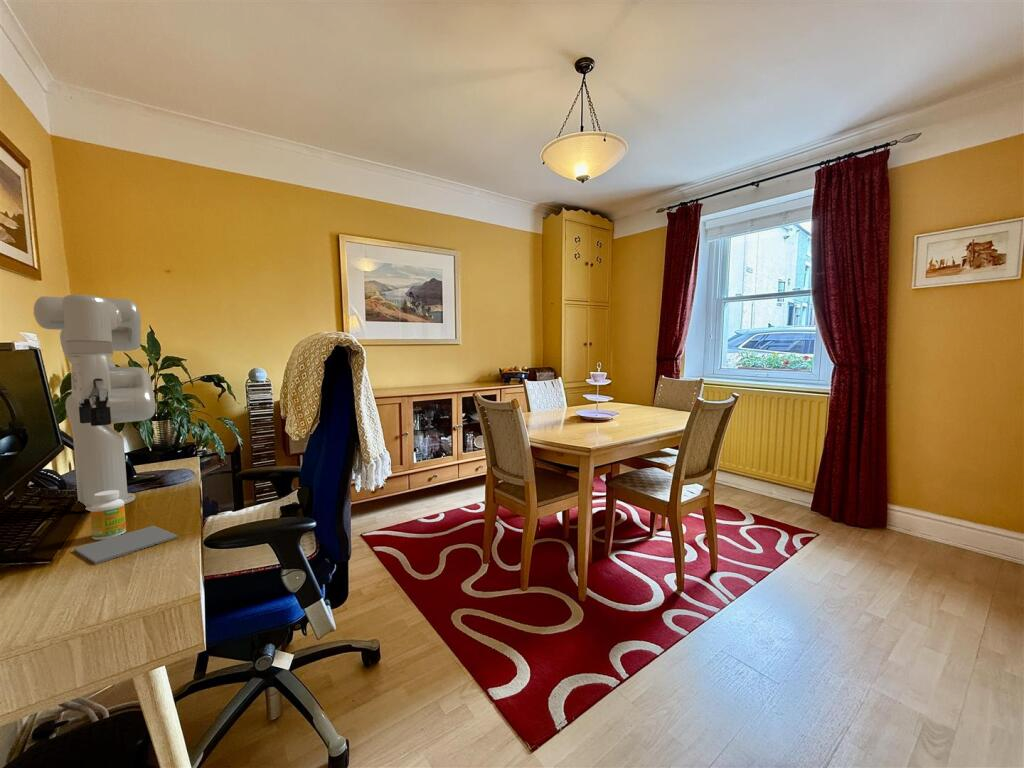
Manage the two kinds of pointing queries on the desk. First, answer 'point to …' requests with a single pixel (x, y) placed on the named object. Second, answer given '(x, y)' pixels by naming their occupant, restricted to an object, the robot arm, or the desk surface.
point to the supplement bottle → (107, 515)
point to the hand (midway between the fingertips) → (95, 423)
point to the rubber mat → (124, 544)
